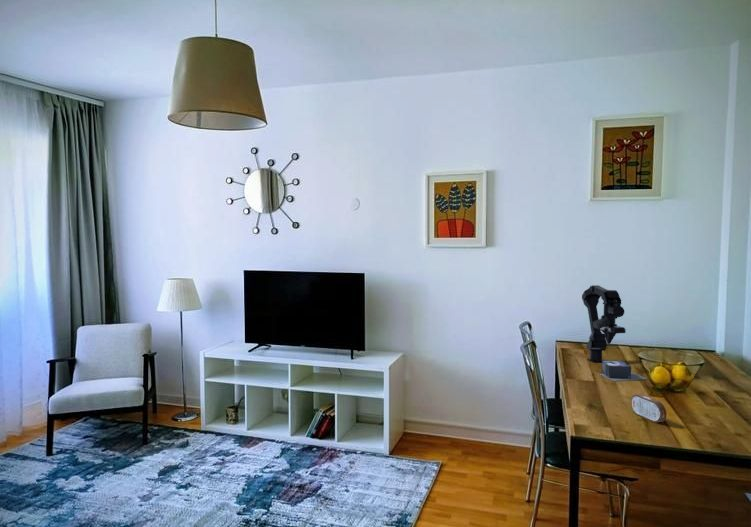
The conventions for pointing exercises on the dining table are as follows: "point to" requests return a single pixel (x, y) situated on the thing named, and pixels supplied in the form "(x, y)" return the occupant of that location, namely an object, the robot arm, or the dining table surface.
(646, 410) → the tin
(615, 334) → the robot arm
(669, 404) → the dining table surface
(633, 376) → the mat
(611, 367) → the small box
